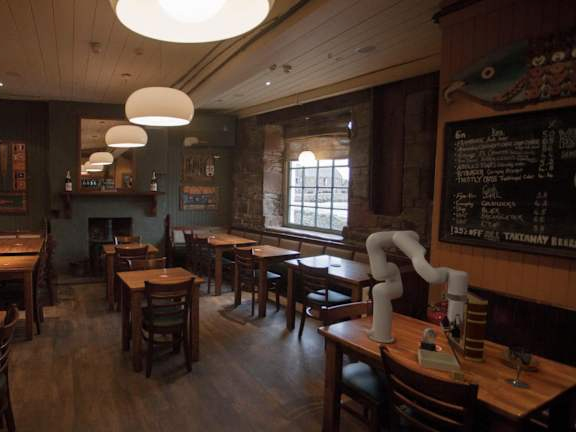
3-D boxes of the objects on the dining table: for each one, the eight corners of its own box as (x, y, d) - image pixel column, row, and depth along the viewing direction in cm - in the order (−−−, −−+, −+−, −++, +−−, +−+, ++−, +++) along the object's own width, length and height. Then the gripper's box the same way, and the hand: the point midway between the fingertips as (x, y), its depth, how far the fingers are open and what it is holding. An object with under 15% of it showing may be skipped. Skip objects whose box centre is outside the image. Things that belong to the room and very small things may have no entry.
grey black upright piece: (438, 349, 204) (439, 329, 203) (428, 352, 200) (429, 331, 199) (427, 345, 209) (428, 325, 208) (418, 348, 205) (419, 327, 204)
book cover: (443, 331, 179) (455, 328, 177) (439, 322, 191) (450, 319, 188) (459, 364, 177) (471, 362, 175) (454, 354, 189) (465, 351, 187)
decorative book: (485, 362, 189) (490, 302, 187) (467, 360, 191) (471, 301, 188) (463, 344, 211) (467, 289, 209) (447, 342, 213) (450, 289, 210)
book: (420, 366, 184) (420, 358, 184) (417, 356, 196) (418, 348, 195) (459, 373, 178) (460, 365, 177) (454, 362, 189) (455, 354, 189)
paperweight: (453, 380, 171) (453, 372, 171) (451, 376, 175) (452, 368, 174) (464, 383, 169) (464, 374, 169) (462, 378, 173) (462, 370, 173)
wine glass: (501, 379, 173) (503, 346, 171) (517, 379, 173) (520, 346, 172) (517, 388, 165) (520, 354, 163) (535, 388, 165) (537, 354, 164)
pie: (528, 360, 192) (528, 350, 191) (548, 375, 177) (549, 364, 176) (491, 356, 196) (492, 347, 195) (508, 371, 181) (509, 360, 180)
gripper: (444, 291, 191) (442, 327, 192) (450, 301, 175) (448, 340, 177) (463, 293, 187) (460, 330, 189) (470, 303, 172) (467, 343, 174)
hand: (454, 334), depth 183 cm, fingers closed on book cover, 5 cm apart
